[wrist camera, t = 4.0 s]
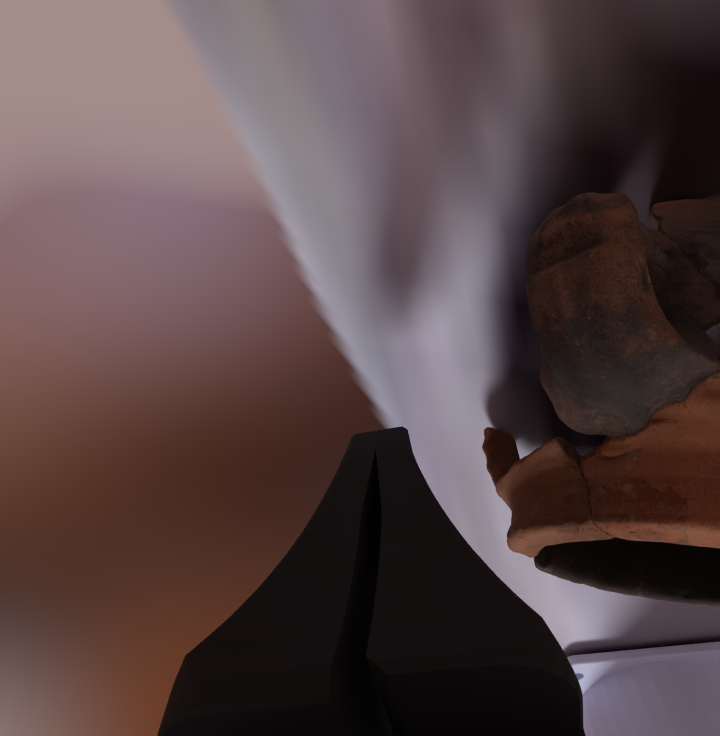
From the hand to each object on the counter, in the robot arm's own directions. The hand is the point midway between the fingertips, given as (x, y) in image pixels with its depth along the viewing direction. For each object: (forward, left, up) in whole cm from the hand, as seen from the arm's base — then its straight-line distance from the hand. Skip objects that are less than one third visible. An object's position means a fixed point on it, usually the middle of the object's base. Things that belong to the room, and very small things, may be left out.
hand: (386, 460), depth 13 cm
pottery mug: (0, -7, -4) cm, 8 cm away
